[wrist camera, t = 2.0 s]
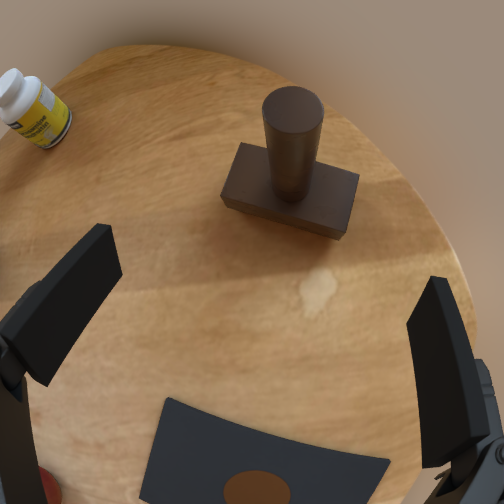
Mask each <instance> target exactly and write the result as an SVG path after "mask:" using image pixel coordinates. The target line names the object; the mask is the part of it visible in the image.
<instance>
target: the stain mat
mask: <svg viewBox="0 0 504 504" xmlns="http://www.w3.org/2000/svg"><path fill="white" fill-rule="evenodd" d="M390 462H391V461H390V460H389V459H383V458H376V457H369V456H363V455H357V454H351V453H345V452H340V451H335V450H330V449H326V448H321V447H317V446H312V445H308V444H304V443H300V442H296V441H292V440H288V439H285V438H281V437H277V436H274V435H271V434H267V433H264V432H261V431H257V430H254V429H251V428H248V427H245V426H242V425H239V424H236V423H233V422H230V421H227V420H224V419H222V418H219V417H216V416H214V415H211V414H208V413H206V412H203V411H201V410H198V409H195V408H193V407H191V406H188V405H186V404H183V403H181V402H179V401H176V400H174V399H172V398H169V397H168V398H166V400H165V404H164V407H163V411H162V414H161V418H160V421H159V425H158V428H157V432H156V435H155V439H154V443H153V446H152V450H151V454H150V457H149V461H148V465H147V469H146V472H145V476H144V480H143V484H142V488H141V492H140V496H139V499H141V500H143V501H145V502H147V503H149V504H367V502H368V500H369V499H370V497H371V496H372V494H373V492H374V491H375V489H376V487H377V486H378V484H379V482H380V480H381V479H382V477H383V475H384V473H385V472H386V470H387V468H388V466H389V464H390Z"/></svg>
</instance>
